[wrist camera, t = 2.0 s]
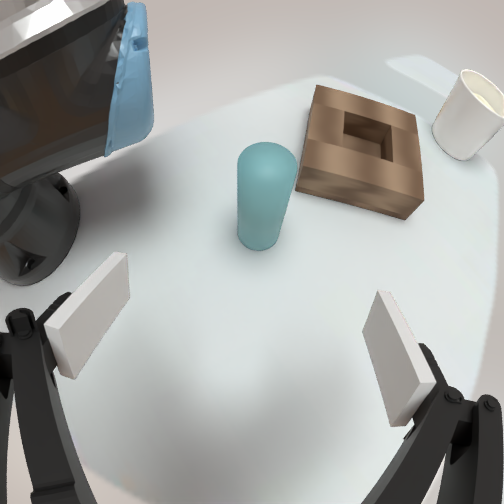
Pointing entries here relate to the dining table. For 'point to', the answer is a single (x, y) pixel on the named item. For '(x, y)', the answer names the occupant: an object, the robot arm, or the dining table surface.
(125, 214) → the dining table surface
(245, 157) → the teal peg
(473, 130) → the candle holder
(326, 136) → the walnut block
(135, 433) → the dining table surface
